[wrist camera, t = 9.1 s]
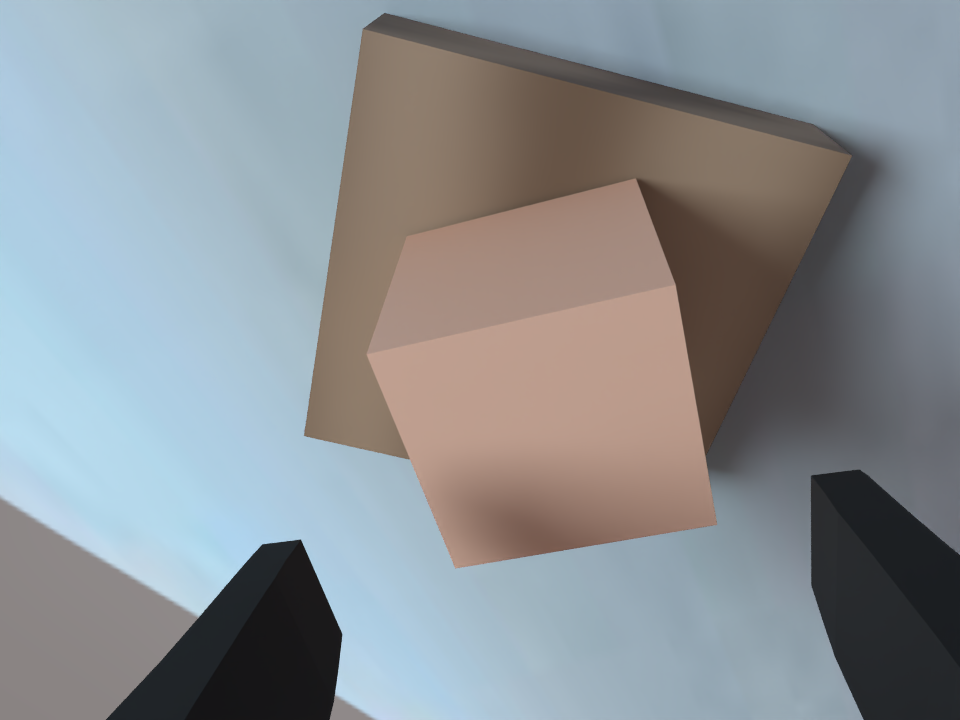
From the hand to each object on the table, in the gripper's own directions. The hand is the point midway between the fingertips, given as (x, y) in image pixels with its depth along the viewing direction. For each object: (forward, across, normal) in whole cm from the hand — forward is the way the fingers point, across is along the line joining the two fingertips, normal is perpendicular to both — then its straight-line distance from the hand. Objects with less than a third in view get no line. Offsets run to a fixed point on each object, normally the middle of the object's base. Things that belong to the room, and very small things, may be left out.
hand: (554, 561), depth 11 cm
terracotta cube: (+8, 0, 0) cm, 8 cm away
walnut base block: (+11, 0, 0) cm, 11 cm away
